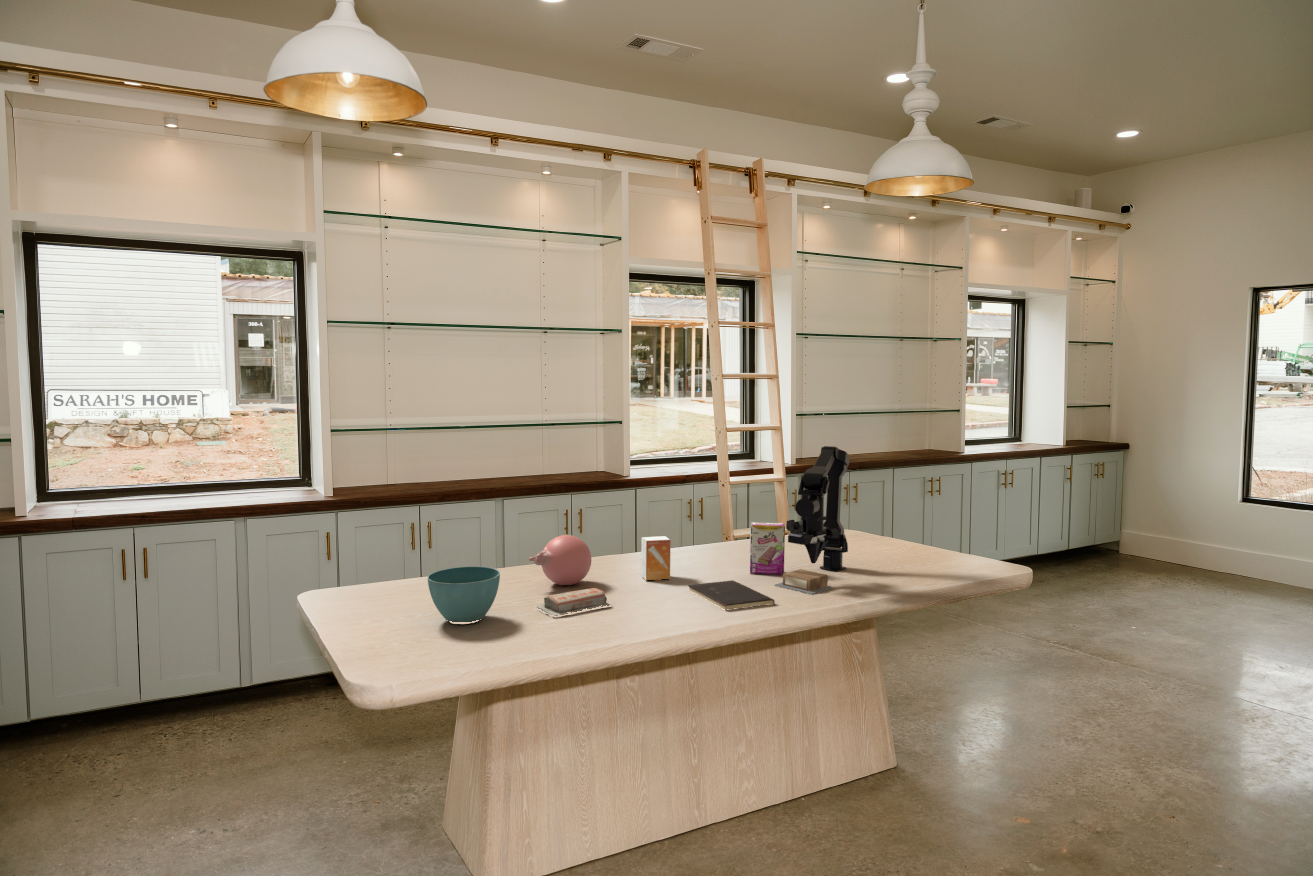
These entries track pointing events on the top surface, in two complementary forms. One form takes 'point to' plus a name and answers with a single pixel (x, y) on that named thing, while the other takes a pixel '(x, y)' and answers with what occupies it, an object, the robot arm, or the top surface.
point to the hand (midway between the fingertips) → (813, 563)
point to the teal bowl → (464, 592)
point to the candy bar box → (767, 548)
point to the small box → (655, 558)
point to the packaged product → (573, 601)
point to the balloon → (564, 560)
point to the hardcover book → (730, 594)
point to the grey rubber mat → (803, 590)
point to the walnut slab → (805, 580)
